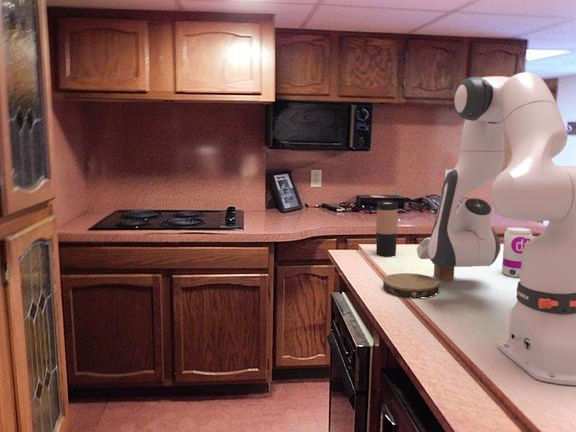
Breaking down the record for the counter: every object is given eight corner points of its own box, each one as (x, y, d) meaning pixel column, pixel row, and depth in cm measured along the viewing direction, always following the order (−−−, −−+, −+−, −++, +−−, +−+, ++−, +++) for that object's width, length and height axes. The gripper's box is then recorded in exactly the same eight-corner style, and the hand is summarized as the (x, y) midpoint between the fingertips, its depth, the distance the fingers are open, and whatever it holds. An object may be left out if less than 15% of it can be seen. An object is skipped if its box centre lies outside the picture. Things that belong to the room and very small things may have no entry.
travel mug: (374, 256, 187) (375, 203, 184) (377, 251, 194) (378, 200, 191) (395, 257, 185) (397, 204, 181) (397, 253, 192) (398, 201, 189)
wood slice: (445, 287, 150) (445, 278, 150) (428, 303, 137) (429, 292, 137) (394, 279, 159) (395, 270, 158) (374, 293, 146) (374, 283, 145)
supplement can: (532, 278, 158) (536, 232, 155) (504, 277, 159) (507, 231, 157) (525, 271, 165) (529, 227, 163) (499, 270, 167) (502, 226, 165)
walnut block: (453, 280, 157) (455, 249, 155) (439, 280, 156) (440, 249, 154) (447, 276, 161) (449, 245, 160) (433, 276, 161) (434, 246, 159)
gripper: (426, 247, 144) (413, 271, 156) (494, 245, 146) (476, 269, 158) (421, 229, 148) (409, 253, 159) (488, 227, 150) (471, 251, 161)
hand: (443, 261), depth 158 cm, fingers closed on walnut block, 5 cm apart
